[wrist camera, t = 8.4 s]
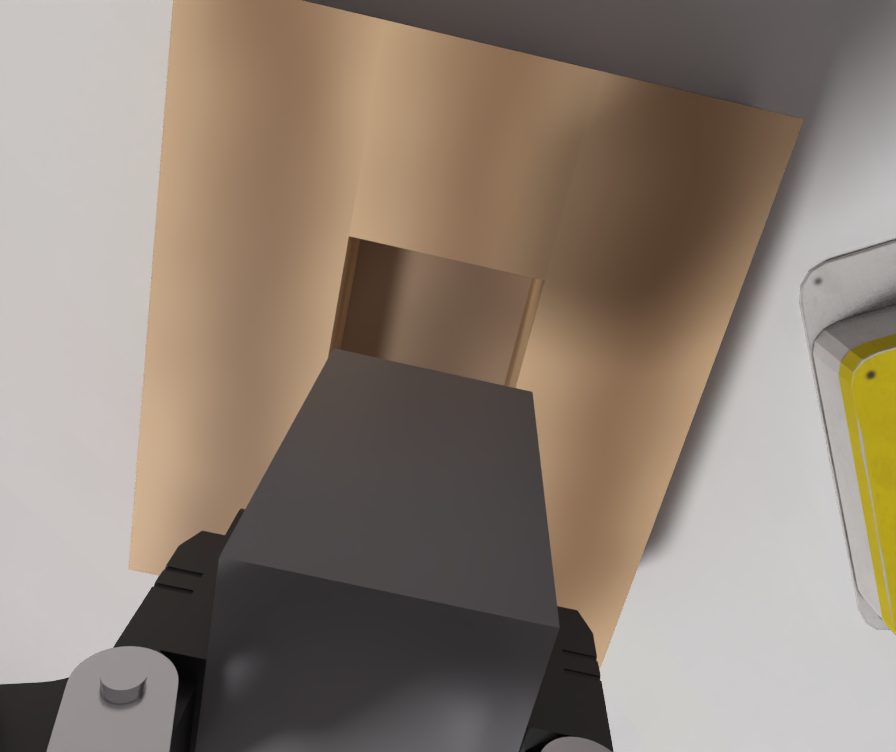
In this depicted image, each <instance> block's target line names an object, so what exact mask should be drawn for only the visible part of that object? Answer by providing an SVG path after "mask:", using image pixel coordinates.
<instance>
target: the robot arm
mask: <svg viewBox="0 0 896 752" xmlns="http://www.w3.org/2000/svg"><path fill="white" fill-rule="evenodd" d="M244 511H245V509H243V508H241V509H240V510H239V511H238V513H237V515H236V516H235V518H234V520H233V522H232V524H231V525H230V527H229V529H228V531H227V532H226V534H225V535H221V534H217V533H212V532H207V531H201V532H199V533H198V534H196V535H195V536H193V537H191V538H190V539H188V540H187V541H185V542H184V543H182V544H181V545H179V546H178V548H177V549H176V551H175V552H174V554H173V555H172V557H171V559H170V560H169V562H168V563H167V565H166V568H165V570H163V571H162V573H161V574H160V576H159V577H158V579H157V580H156V582H155V585H154V587H152V588H151V590H150V591H149V593H148V594H147V596H146V597H145V599H144V600H143V602H142V604H141V605H140V607H139V608H138V610H137V611H136V613H135V614H134V616H133V618H132V619H131V621H130V622H129V624H128V625H127V627H126V628H125V630H124V632H123V633H122V635H121V636H120V638H119V639H118V641H117V642H116V644H115V646H114V647H113V648H111V649H107V650H104V651H101V652H99V653H96V654H94V655H92V656H90V657H89V658H87V659H86V660H84V661H83V662H82V663H80V664H79V665H78V666H77V667H76V668H75V669H74V671H73V672H72V674H71V675H70V677H69V678H65V679H61V680H56V681H50V682H39V683H20V684H1V685H0V752H195V749H196V741H197V733H198V725H199V717H200V708H201V700H202V692H203V684H204V676H205V668H206V660H207V652H208V644H209V636H210V628H211V620H212V612H213V604H214V596H215V588H216V580H217V572H218V564H219V556H220V554H221V553H222V551H223V549H224V547H225V545H226V543H227V542H228V540H229V538H230V536H231V534H232V533H233V531H234V529H235V527H236V525H237V523H238V522H239V520H240V518H241V516H242V514H243V512H244ZM557 609H558V618H559V626H560V629H559V632H558V635H557V638H556V641H555V644H554V647H553V650H552V653H551V656H550V659H549V662H548V665H547V668H546V671H545V674H544V677H543V680H542V683H541V686H540V689H539V692H538V695H537V698H536V701H535V704H534V707H533V710H532V713H531V716H530V719H529V722H528V725H527V728H526V731H525V734H524V737H523V740H522V743H521V746H520V749H519V752H613V747H612V741H611V735H610V729H609V723H608V718H607V712H606V706H605V700H604V694H603V688H602V683H601V681H600V671H599V665H598V661H596V660H597V653H596V648H595V642H594V636H593V632H592V631H591V629H590V628H589V627H588V625H587V624H586V622H585V621H584V619H583V618H582V616H581V615H580V613H579V612H578V610H574V609H569V608H564V607H560V606H557Z"/></svg>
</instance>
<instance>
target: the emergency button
mask: <svg viewBox="0 0 896 752" xmlns="http://www.w3.org/2000/svg"><path fill="white" fill-rule="evenodd" d="M799 305H800V310H801V315H802V320H803V326H804V331H805V336H806V341H807V346H808V352H809V357H810V362H811V367H812V372H813V378H814V383H815V388H816V393H817V398H818V404H819V409H820V414H821V419H822V424H823V429H824V435H825V440H826V445H827V450H828V455H829V461H830V466H831V471H832V476H833V481H834V487H835V492H836V497H837V502H838V507H839V513H840V518H841V523H842V528H843V533H844V539H845V544H846V549H847V554H848V559H849V565H850V570H851V575H852V580H853V585H854V591H855V596H856V601H857V606H858V610H859V612H860V614H861V616H862V618H863V620H864V621H865V623H866V624H868V625H870V626H871V627H873V628H875V629H877V630H891V631H892V632H893V633H894V634H895V635H896V240H894V241H890V242H887V243H884V244H880V245H877V246H874V247H870V248H867V249H864V250H860V251H857V252H854V253H850V254H847V255H844V256H841V257H837V258H834V259H831V260H827V261H824V262H822V263H820V264H819V265H817V266H816V267H814V268H812V269H811V270H809V271H808V273H807V275H806V276H805V278H804V280H803V281H802V283H801V285H800V295H799Z"/></svg>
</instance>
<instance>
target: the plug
mask: <svg viewBox="0 0 896 752" xmlns="http://www.w3.org/2000/svg"><path fill="white" fill-rule="evenodd" d="M559 629H560V626H559V618H558V609H557V600H556V591H555V583H554V574H553V565H552V557H551V548H550V539H549V530H548V522H547V513H546V504H545V496H544V487H543V478H542V469H541V461H540V452H539V443H538V435H537V426H536V417H535V409H534V400H533V392H531V391H527V390H522V389H517V388H513V387H508V386H504V385H499V384H495V383H490V382H485V381H481V380H476V379H472V378H467V377H463V376H458V375H454V374H449V373H444V372H440V371H435V370H431V369H426V368H422V367H417V366H412V365H408V364H403V363H399V362H394V361H390V360H385V359H381V358H376V357H371V356H367V355H362V354H358V353H353V352H349V351H344V350H339V349H335V348H333V350H332V352H331V354H330V356H329V357H328V359H327V361H326V363H325V365H324V367H323V368H322V370H321V372H320V374H319V376H318V377H317V379H316V381H315V383H314V385H313V387H312V388H311V390H310V392H309V394H308V396H307V398H306V399H305V401H304V403H303V405H302V407H301V408H300V410H299V412H298V414H297V416H296V418H295V419H294V421H293V423H292V425H291V427H290V429H289V430H288V432H287V434H286V436H285V438H284V440H283V441H282V443H281V445H280V447H279V449H278V450H277V452H276V454H275V456H274V458H273V460H272V461H271V463H270V465H269V467H268V469H267V471H266V472H265V474H264V476H263V478H262V480H261V481H260V483H259V485H258V487H257V489H256V491H255V492H254V494H253V496H252V498H251V500H250V502H249V503H248V505H247V507H246V509H245V511H244V512H243V514H242V516H241V518H240V520H239V522H238V523H237V525H236V527H235V529H234V531H233V533H232V534H231V536H230V538H229V540H228V542H227V543H226V545H225V547H224V549H223V551H222V553H221V554H220V556H219V564H218V572H217V580H216V588H215V596H214V604H213V612H212V620H211V628H210V636H209V644H208V652H207V660H206V668H205V676H204V684H203V692H202V700H201V708H200V717H199V725H198V733H197V741H196V749H195V752H519V749H520V746H521V743H522V740H523V737H524V734H525V731H526V728H527V725H528V722H529V719H530V716H531V713H532V710H533V707H534V704H535V701H536V698H537V695H538V692H539V689H540V686H541V683H542V680H543V677H544V674H545V671H546V668H547V665H548V662H549V659H550V656H551V653H552V650H553V647H554V644H555V641H556V638H557V635H558V632H559Z"/></svg>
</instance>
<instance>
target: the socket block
mask: <svg viewBox="0 0 896 752" xmlns="http://www.w3.org/2000/svg"><path fill="white" fill-rule="evenodd" d="M803 121H804V119H801V118H797V117H793V116H789V115H785V114H780V113H776V112H772V111H768V110H763V109H759V108H755V107H751V106H747V105H742V104H738V103H734V102H730V101H725V100H721V99H717V98H713V97H708V96H704V95H700V94H696V93H692V92H687V91H683V90H679V89H675V88H670V87H666V86H662V85H658V84H654V83H649V82H645V81H641V80H637V79H632V78H628V77H624V76H620V75H615V74H611V73H607V72H603V71H599V70H594V69H590V68H586V67H582V66H577V65H573V64H569V63H565V62H561V61H556V60H552V59H548V58H544V57H539V56H535V55H531V54H527V53H522V52H518V51H514V50H510V49H506V48H501V47H497V46H493V45H489V44H484V43H480V42H476V41H472V40H468V39H463V38H459V37H455V36H451V35H446V34H442V33H438V32H434V31H430V30H425V29H421V28H417V27H413V26H408V25H404V24H400V23H396V22H391V21H387V20H383V19H379V18H375V17H370V16H366V15H362V14H358V13H353V12H349V11H345V10H341V9H337V8H332V7H328V6H324V5H320V4H315V3H311V2H307V1H303V0H173V10H172V22H171V35H170V48H169V61H168V74H167V86H166V99H165V112H164V125H163V137H162V150H161V163H160V176H159V189H158V201H157V214H156V227H155V240H154V253H153V265H152V278H151V291H150V304H149V316H148V329H147V342H146V355H145V368H144V380H143V393H142V406H141V419H140V431H139V444H138V457H137V470H136V483H135V495H134V508H133V521H132V534H131V546H130V559H129V569H130V570H135V571H140V572H145V573H149V574H154V575H159V576H160V574H161V573H162V571H163V570H165V568H166V565H167V563H168V562H169V560H170V559H171V557H172V555H173V554H174V552H175V551H176V549H177V548H178V546H179V545H181V544H182V543H184V542H185V541H187V540H188V539H190V538H191V537H193V536H195V535H196V534H198V533H199V532H201V531H207V532H212V533H217V534H221V535H225V534H226V532H227V531H228V529H229V527H230V525H231V524H232V522H233V520H234V518H235V516H236V515H237V513H238V511H239V510H240V509H241V508H243V509H246V507H247V505H248V503H249V502H250V500H251V498H252V496H253V494H254V492H255V491H256V489H257V487H258V485H259V483H260V481H261V480H262V478H263V476H264V474H265V472H266V471H267V469H268V467H269V465H270V463H271V461H272V460H273V458H274V456H275V454H276V452H277V450H278V449H279V447H280V445H281V443H282V441H283V440H284V438H285V436H286V434H287V432H288V430H289V429H290V427H291V425H292V423H293V421H294V419H295V418H296V416H297V414H298V412H299V410H300V408H301V407H302V405H303V403H304V401H305V399H306V398H307V396H308V394H309V392H310V390H311V388H312V387H313V385H314V383H315V381H316V379H317V377H318V376H319V374H320V372H321V370H322V368H323V367H324V365H325V363H326V361H327V359H328V357H329V356H330V354H331V352H332V350H333V348H335V349H339V350H344V351H349V352H353V353H358V354H362V355H367V356H371V357H376V358H381V359H385V360H390V361H394V362H399V363H403V364H408V365H412V366H417V367H422V368H426V369H431V370H435V371H440V372H444V373H449V374H454V375H458V376H463V377H467V378H472V379H476V380H481V381H485V382H490V383H495V384H499V385H504V386H508V387H513V388H517V389H522V390H527V391H531V392H533V400H534V409H535V417H536V426H537V435H538V443H539V452H540V461H541V469H542V478H543V487H544V496H545V504H546V513H547V522H548V530H549V539H550V548H551V557H552V565H553V574H554V583H555V591H556V600H557V606H560V607H564V608H569V609H574V610H578V612H579V613H580V615H581V616H582V618H583V619H584V621H585V622H586V624H587V625H588V627H589V628H590V629H591V631H592V632H593V636H594V642H595V648H596V653H597V660H596V661H598V665H599V667H601V665H602V662H603V660H604V657H605V654H606V651H607V649H608V646H609V643H610V641H611V638H612V635H613V633H614V630H615V627H616V625H617V622H618V619H619V616H620V614H621V611H622V608H623V606H624V603H625V600H626V598H627V595H628V592H629V590H630V587H631V584H632V581H633V579H634V576H635V573H636V571H637V568H638V565H639V563H640V560H641V557H642V555H643V552H644V549H645V546H646V544H647V541H648V538H649V536H650V533H651V530H652V528H653V525H654V522H655V520H656V517H657V514H658V511H659V509H660V506H661V503H662V501H663V498H664V495H665V493H666V490H667V487H668V485H669V482H670V479H671V476H672V474H673V471H674V468H675V466H676V463H677V460H678V458H679V455H680V452H681V450H682V447H683V444H684V441H685V439H686V436H687V433H688V431H689V428H690V425H691V423H692V420H693V417H694V415H695V412H696V409H697V406H698V404H699V401H700V398H701V396H702V393H703V390H704V388H705V385H706V382H707V380H708V377H709V374H710V371H711V369H712V366H713V363H714V361H715V358H716V355H717V353H718V350H719V347H720V345H721V342H722V339H723V336H724V334H725V331H726V328H727V326H728V323H729V320H730V318H731V315H732V312H733V310H734V307H735V304H736V301H737V299H738V296H739V293H740V291H741V288H742V285H743V283H744V280H745V277H746V275H747V272H748V269H749V266H750V264H751V261H752V258H753V256H754V253H755V250H756V248H757V245H758V242H759V239H760V237H761V234H762V231H763V229H764V226H765V223H766V221H767V218H768V215H769V213H770V210H771V207H772V204H773V202H774V199H775V196H776V194H777V191H778V188H779V186H780V183H781V180H782V178H783V175H784V172H785V169H786V167H787V164H788V161H789V159H790V156H791V153H792V151H793V148H794V145H795V143H796V140H797V137H798V134H799V132H800V129H801V126H802V124H803Z"/></svg>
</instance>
